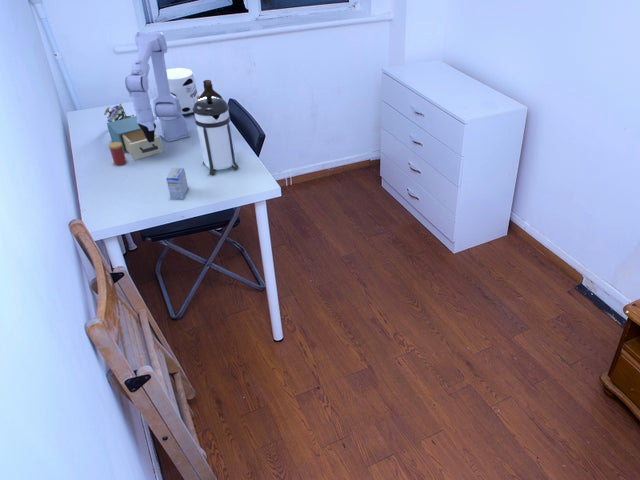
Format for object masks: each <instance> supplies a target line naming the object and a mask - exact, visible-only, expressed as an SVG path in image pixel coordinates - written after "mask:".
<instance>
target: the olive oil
mask: <svg viewBox="0 0 640 480" xmlns="http://www.w3.org/2000/svg"><path fill="white" fill-rule="evenodd" d="M202 83H203V89H204V90H203V92H202V93H201V94H199V99H202V98H206V97H205V96H206V94H207V93H210V94H211V95H212V97H218V98H221V99H223V100H224V98H223V96H222V95H220V93H218V92H217V91H215V89H214V88H213V83H212V80H210V79H205V80H203V81H202ZM199 99H198V100H199Z"/></svg>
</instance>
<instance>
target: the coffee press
mask: <svg viewBox="0 0 640 480" xmlns="http://www.w3.org/2000/svg"><path fill="white" fill-rule="evenodd" d="M205 97H206V98H202V99H199V100H198V101H196V102H195V104H194V106H193V112H194V113H193V114H194V122H195V125H196V129H197V134H198V138H199V144H200V149H201V154H202V160H203V161H202V165H204V166H206V168H208V169H209V172H208V173H209V175H211V176H215V173H216V171H217V170H218V171H219V170H220V171H221V170H226V169H229V168H232V169H233V170H234V171H237V170H239V169H240V166H239V165H238V164H237V162H236V161H237V157H236V152H235V145H234V139H233V131H232V125H231V115H230V112H229V109H230V106H229V104H228V102H227V101H226V100H225V99H224V98H223V99H221V98H218V97H212V95H211V94H210V93H207V94H206V96H205Z"/></svg>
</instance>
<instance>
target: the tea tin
mask: <svg viewBox="0 0 640 480" xmlns="http://www.w3.org/2000/svg"><path fill="white" fill-rule="evenodd" d="M108 148H109V150H110V154H111V158H112V160H113V164H114V166H117V167H119V166H124V165H126V164H127V158H126V155H125V153H124V151H123V148H122V143H121V142H111V143H109V144H108Z"/></svg>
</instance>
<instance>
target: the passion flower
mask: <svg viewBox="0 0 640 480" xmlns="http://www.w3.org/2000/svg"><path fill="white" fill-rule="evenodd" d="M107 114H108V115H107ZM103 115H104V116H106V115H107V117H106V118H107V123H109V122H113V121H118V120H122V119H126V118H130V117H134V116H135V115H134V114H132V115H127V114H126V112H125V110H124V107H123V106H122V103H119V104H118V105H115V106H113V107H112V108H110V106H108V107H107V108H106V109H105V111H104V113H103Z"/></svg>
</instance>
